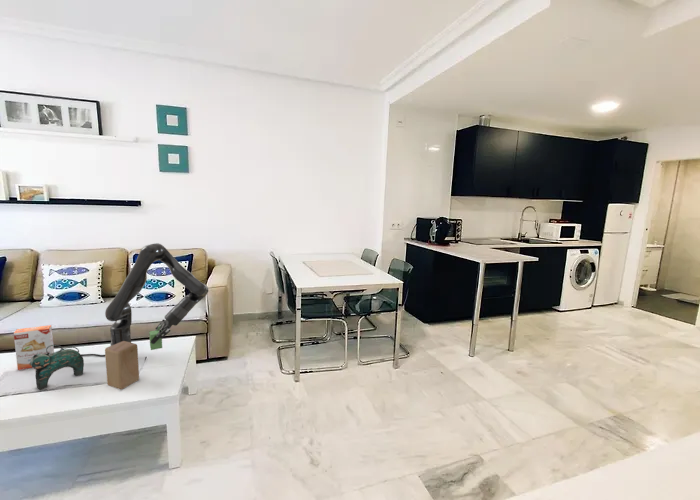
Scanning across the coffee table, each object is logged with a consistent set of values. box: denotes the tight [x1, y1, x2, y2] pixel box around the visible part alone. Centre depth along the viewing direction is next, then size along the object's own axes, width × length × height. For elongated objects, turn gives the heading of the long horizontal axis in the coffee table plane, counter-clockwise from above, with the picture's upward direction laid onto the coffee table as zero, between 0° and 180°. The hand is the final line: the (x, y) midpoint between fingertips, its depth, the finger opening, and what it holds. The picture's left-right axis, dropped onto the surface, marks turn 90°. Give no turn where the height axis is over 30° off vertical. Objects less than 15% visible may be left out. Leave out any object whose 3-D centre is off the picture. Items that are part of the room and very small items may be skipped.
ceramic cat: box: [30, 344, 85, 391], centre depth 163 cm, size 20×6×20 cm, turn 149°
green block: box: [148, 329, 163, 351], centre depth 168 cm, size 5×5×8 cm
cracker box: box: [13, 324, 55, 371], centre depth 176 cm, size 14×6×21 cm, turn 123°
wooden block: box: [104, 341, 140, 390], centre depth 164 cm, size 10×10×20 cm
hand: (151, 340), depth 167 cm, fingers closed on green block, 5 cm apart
